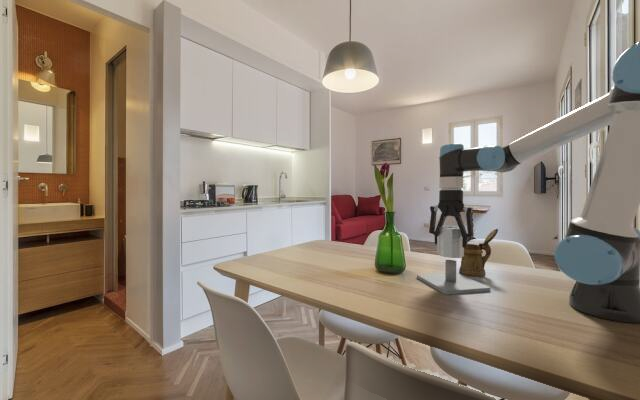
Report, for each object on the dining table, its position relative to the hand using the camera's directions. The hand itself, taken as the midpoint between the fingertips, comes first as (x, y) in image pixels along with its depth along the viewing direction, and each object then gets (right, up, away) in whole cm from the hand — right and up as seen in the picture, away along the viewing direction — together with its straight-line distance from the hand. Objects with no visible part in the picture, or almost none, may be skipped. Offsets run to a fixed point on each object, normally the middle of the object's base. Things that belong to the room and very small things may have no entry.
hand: (450, 254), depth 99 cm
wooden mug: (+16, -10, +12) cm, 23 cm away
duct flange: (0, -10, 0) cm, 10 cm away
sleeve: (0, 0, 0) cm, 0 cm away
